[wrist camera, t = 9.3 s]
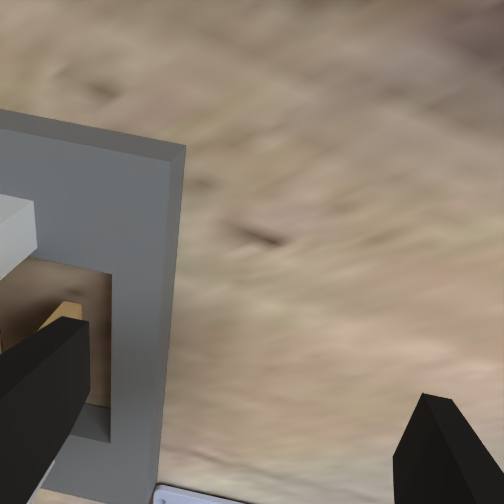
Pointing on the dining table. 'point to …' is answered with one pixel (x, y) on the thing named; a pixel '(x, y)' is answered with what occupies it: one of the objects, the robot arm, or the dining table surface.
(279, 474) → the dining table surface
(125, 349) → the grey slotted base plate
